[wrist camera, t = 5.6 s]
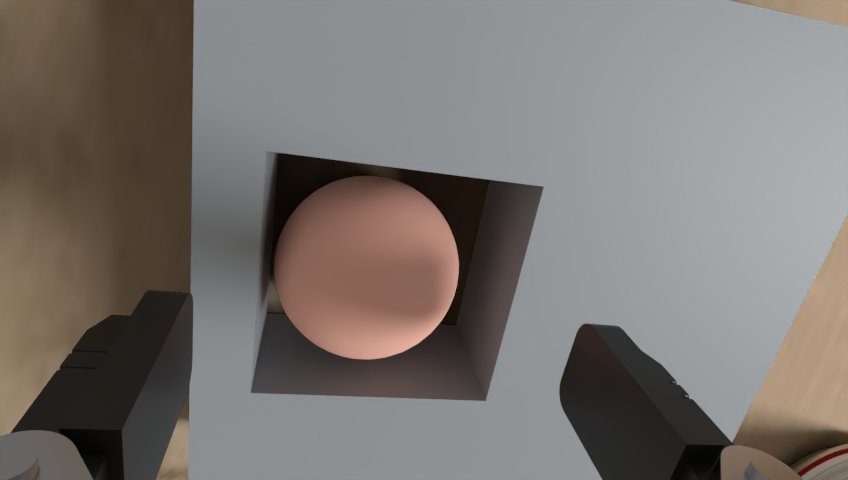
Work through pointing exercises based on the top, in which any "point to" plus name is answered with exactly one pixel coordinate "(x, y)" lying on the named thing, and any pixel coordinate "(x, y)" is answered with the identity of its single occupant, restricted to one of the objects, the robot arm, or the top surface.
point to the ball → (366, 267)
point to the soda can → (824, 464)
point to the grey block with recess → (510, 216)
